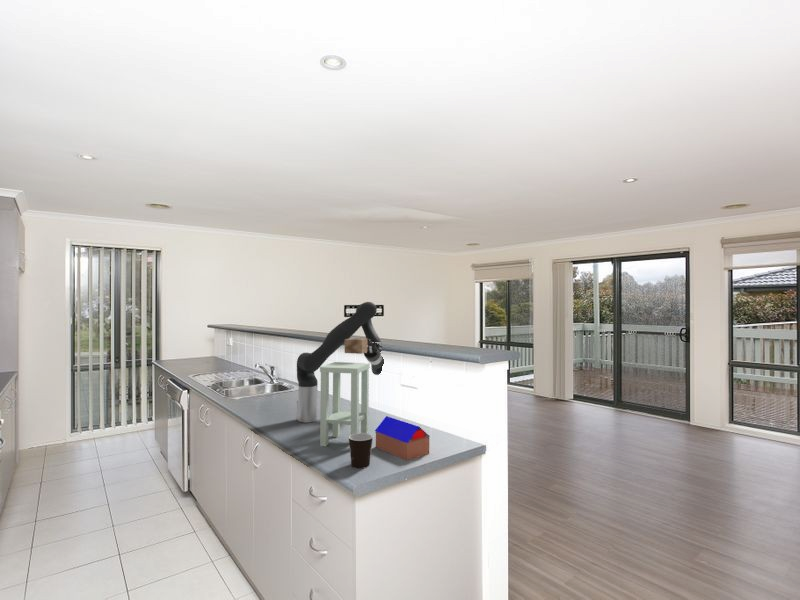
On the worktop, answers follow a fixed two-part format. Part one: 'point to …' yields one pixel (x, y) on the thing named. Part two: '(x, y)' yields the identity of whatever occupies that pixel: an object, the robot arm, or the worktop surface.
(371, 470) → the worktop surface
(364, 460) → the dark brown cup
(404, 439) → the house
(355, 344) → the cube on tan board
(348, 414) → the tall stand
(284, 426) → the worktop surface
